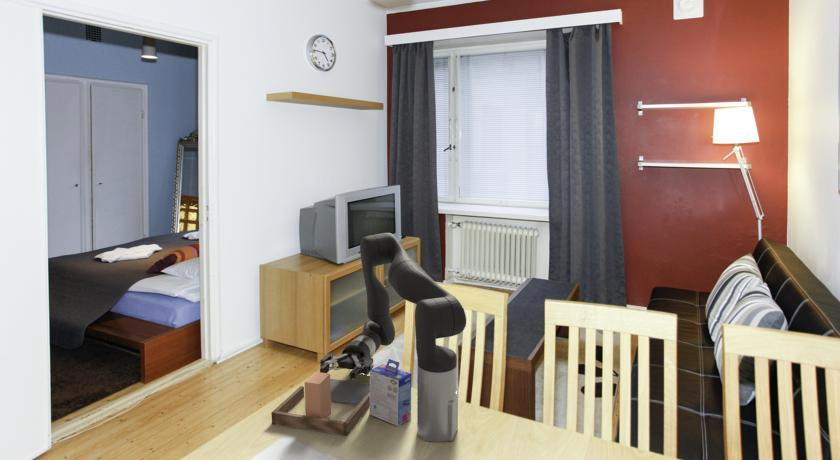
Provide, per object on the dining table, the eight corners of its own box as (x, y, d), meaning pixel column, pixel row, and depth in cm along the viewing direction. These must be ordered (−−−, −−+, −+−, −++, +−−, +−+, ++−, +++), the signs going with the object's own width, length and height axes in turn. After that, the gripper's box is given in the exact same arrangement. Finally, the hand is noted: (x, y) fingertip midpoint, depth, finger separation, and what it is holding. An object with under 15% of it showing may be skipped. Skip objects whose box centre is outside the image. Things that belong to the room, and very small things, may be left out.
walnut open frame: (369, 406, 146) (369, 395, 145) (347, 435, 132) (346, 424, 131) (300, 396, 151) (300, 386, 151) (271, 423, 137) (271, 412, 137)
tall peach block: (331, 414, 142) (330, 373, 140) (320, 425, 136) (319, 383, 134) (316, 411, 143) (315, 371, 141) (306, 423, 137) (304, 381, 135)
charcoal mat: (374, 385, 158) (374, 384, 158) (358, 405, 146) (358, 404, 146) (329, 379, 161) (329, 378, 161) (310, 398, 150) (310, 397, 150)
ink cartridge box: (412, 418, 140) (412, 364, 138) (398, 427, 136) (398, 371, 133) (383, 406, 146) (382, 354, 143) (368, 415, 142) (367, 361, 139)
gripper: (336, 337, 165) (311, 358, 150) (381, 342, 162) (360, 364, 146) (337, 361, 167) (312, 384, 151) (382, 366, 163) (361, 391, 148)
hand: (336, 374), depth 149 cm, fingers open, 8 cm apart
